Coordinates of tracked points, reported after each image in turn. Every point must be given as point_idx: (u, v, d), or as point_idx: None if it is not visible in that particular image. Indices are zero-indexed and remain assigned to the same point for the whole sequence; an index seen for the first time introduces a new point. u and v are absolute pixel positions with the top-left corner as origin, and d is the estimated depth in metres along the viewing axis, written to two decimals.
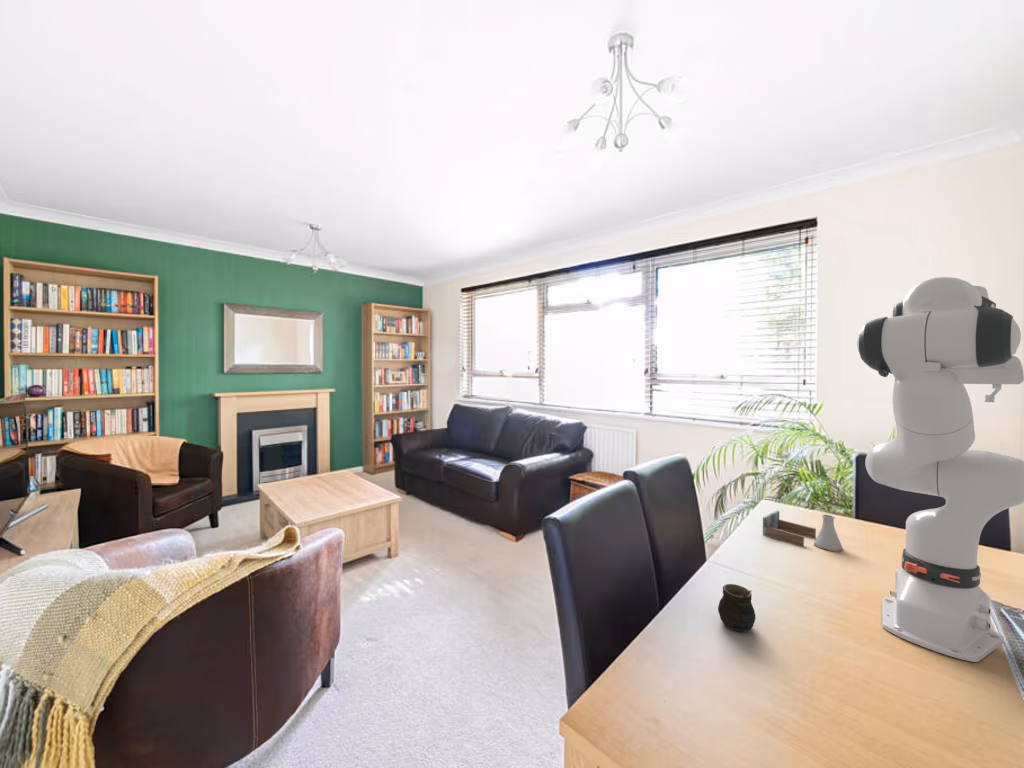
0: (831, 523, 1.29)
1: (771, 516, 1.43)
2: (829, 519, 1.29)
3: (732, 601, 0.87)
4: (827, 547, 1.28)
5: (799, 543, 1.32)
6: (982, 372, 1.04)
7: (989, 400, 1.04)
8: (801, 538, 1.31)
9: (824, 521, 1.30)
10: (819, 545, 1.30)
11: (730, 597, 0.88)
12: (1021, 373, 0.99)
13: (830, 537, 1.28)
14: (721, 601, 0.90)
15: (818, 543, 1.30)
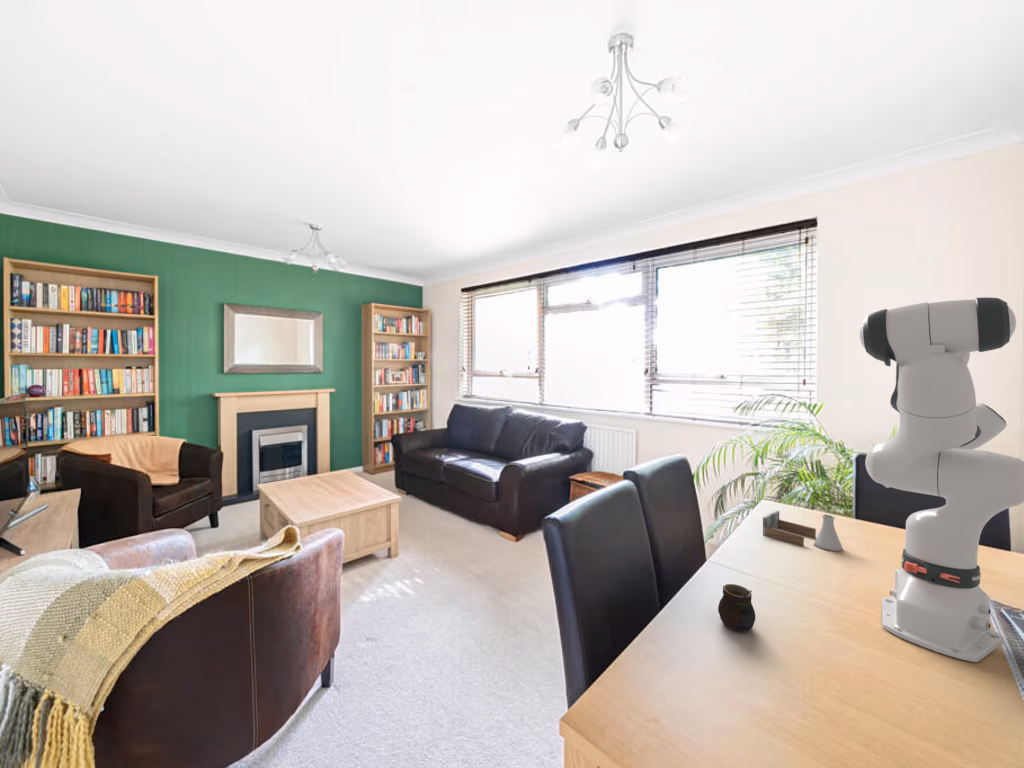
0: (831, 523, 1.29)
1: (771, 516, 1.43)
2: (829, 519, 1.29)
3: (732, 601, 0.87)
4: (827, 547, 1.28)
5: (799, 543, 1.32)
6: None
7: None
8: (801, 538, 1.31)
9: (824, 521, 1.30)
10: (819, 545, 1.30)
11: (730, 596, 0.88)
12: None
13: (830, 537, 1.28)
14: (721, 601, 0.90)
15: (818, 543, 1.30)
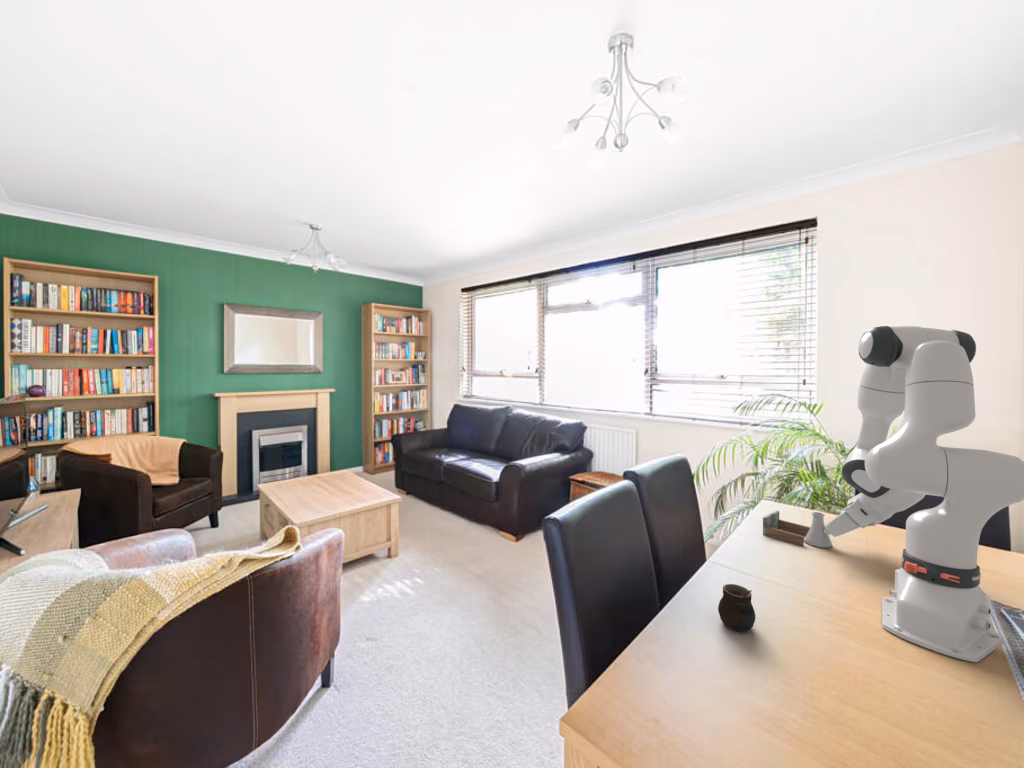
0: (820, 520, 1.31)
1: (771, 516, 1.43)
2: (818, 516, 1.31)
3: (732, 601, 0.87)
4: (816, 544, 1.30)
5: (799, 543, 1.32)
6: None
7: None
8: (801, 538, 1.31)
9: (814, 518, 1.33)
10: (808, 542, 1.32)
11: (730, 596, 0.88)
12: (830, 522, 1.22)
13: (819, 534, 1.30)
14: (721, 601, 0.90)
15: (808, 539, 1.33)
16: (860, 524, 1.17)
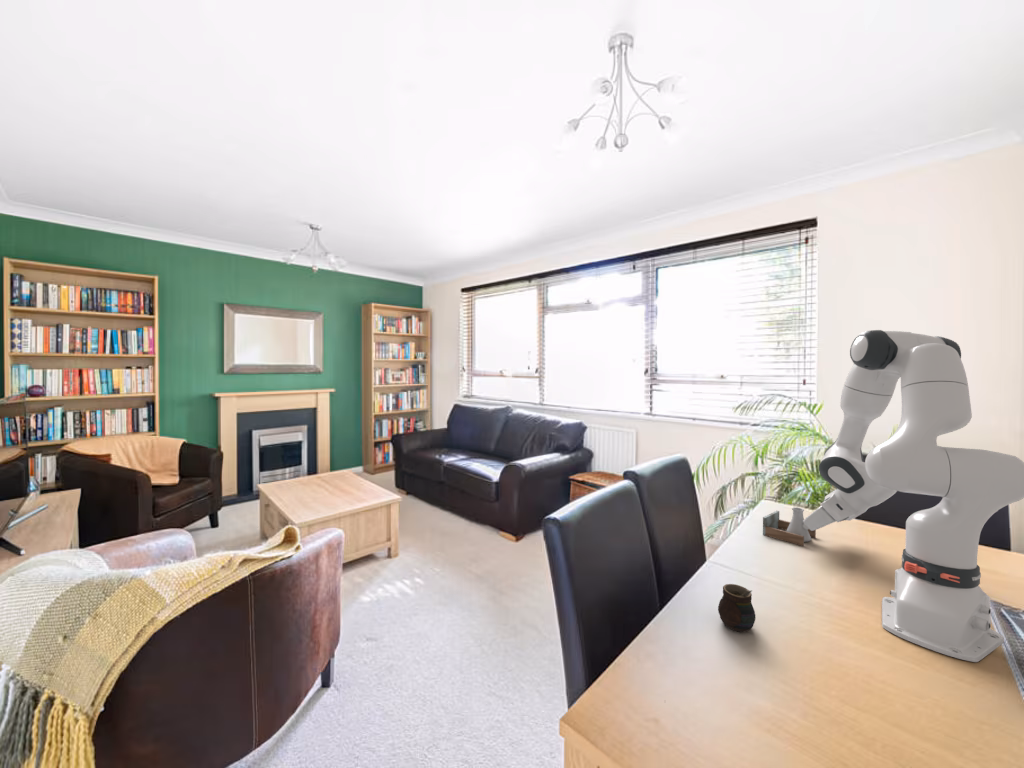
0: (800, 515, 1.36)
1: (771, 516, 1.43)
2: (798, 511, 1.36)
3: (732, 601, 0.87)
4: None
5: (799, 543, 1.32)
6: None
7: (803, 524, 1.35)
8: (801, 538, 1.31)
9: (794, 513, 1.37)
10: None
11: (730, 596, 0.88)
12: (808, 516, 1.27)
13: (798, 528, 1.35)
14: (721, 601, 0.90)
15: None
16: (836, 518, 1.22)
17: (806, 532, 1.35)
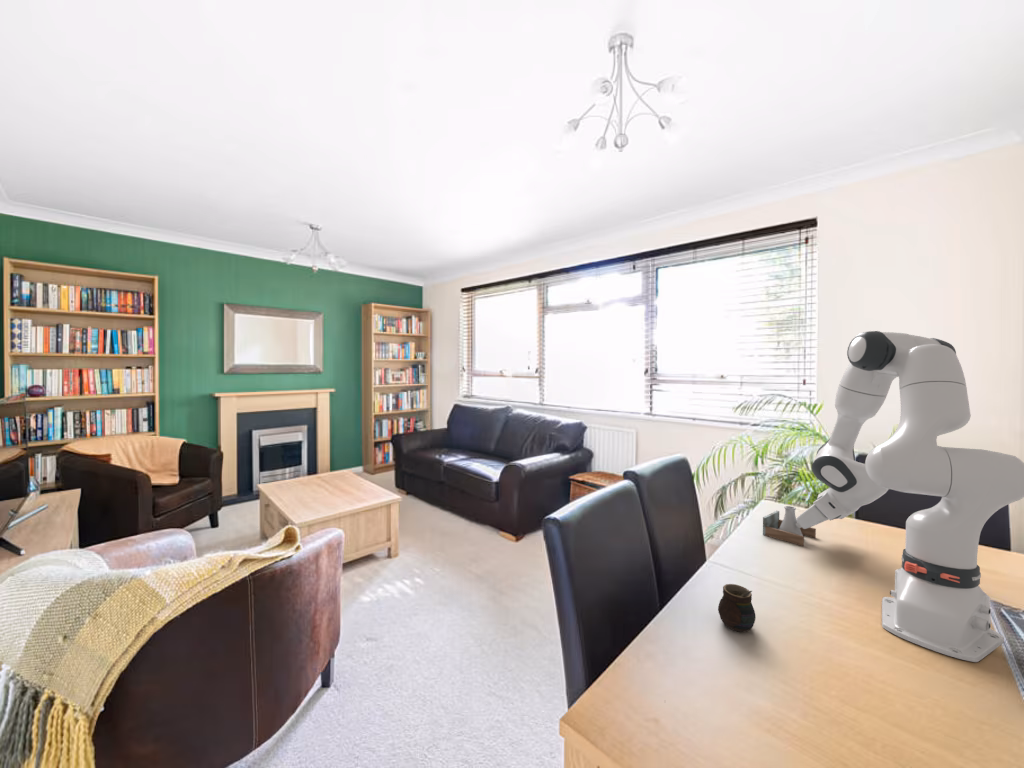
0: (792, 514, 1.38)
1: (771, 516, 1.43)
2: (790, 510, 1.38)
3: (732, 601, 0.87)
4: None
5: (799, 543, 1.32)
6: None
7: None
8: (801, 538, 1.31)
9: (786, 512, 1.39)
10: None
11: (730, 596, 0.88)
12: (801, 515, 1.28)
13: (790, 526, 1.37)
14: (721, 601, 0.90)
15: None
16: (828, 517, 1.23)
17: (798, 530, 1.37)
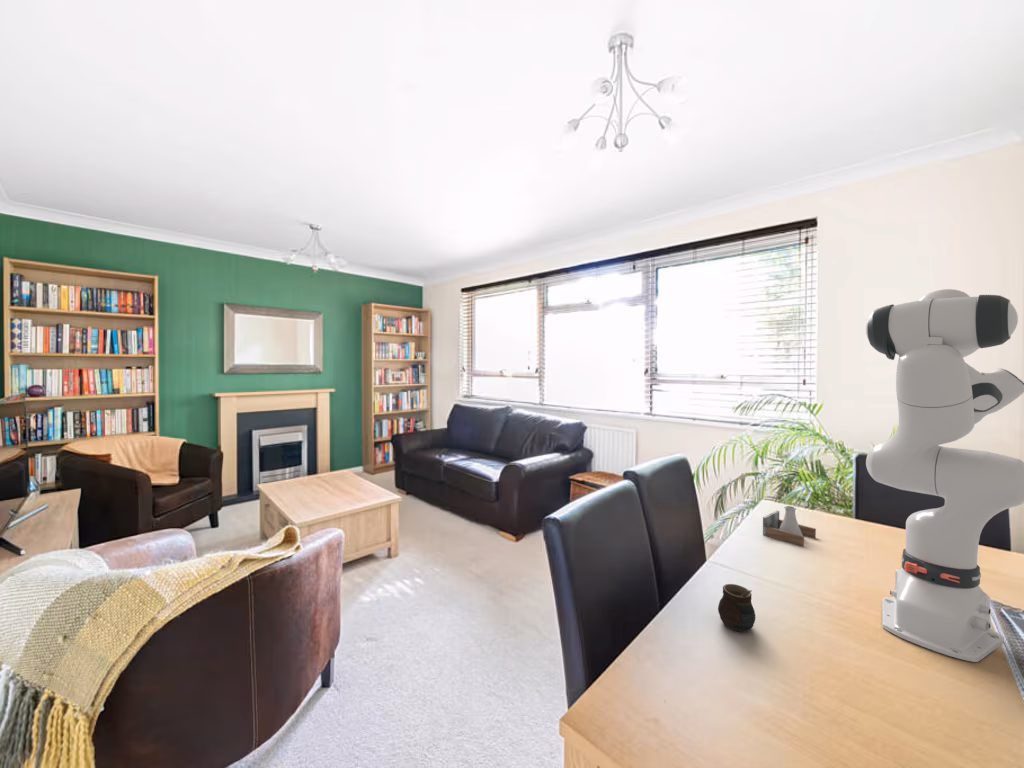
0: (792, 514, 1.38)
1: (771, 516, 1.43)
2: (790, 510, 1.38)
3: (732, 601, 0.87)
4: None
5: (799, 543, 1.32)
6: None
7: None
8: (801, 538, 1.31)
9: (786, 512, 1.39)
10: None
11: (730, 596, 0.88)
12: None
13: (790, 526, 1.37)
14: (721, 601, 0.90)
15: None
16: None
17: (798, 530, 1.37)
